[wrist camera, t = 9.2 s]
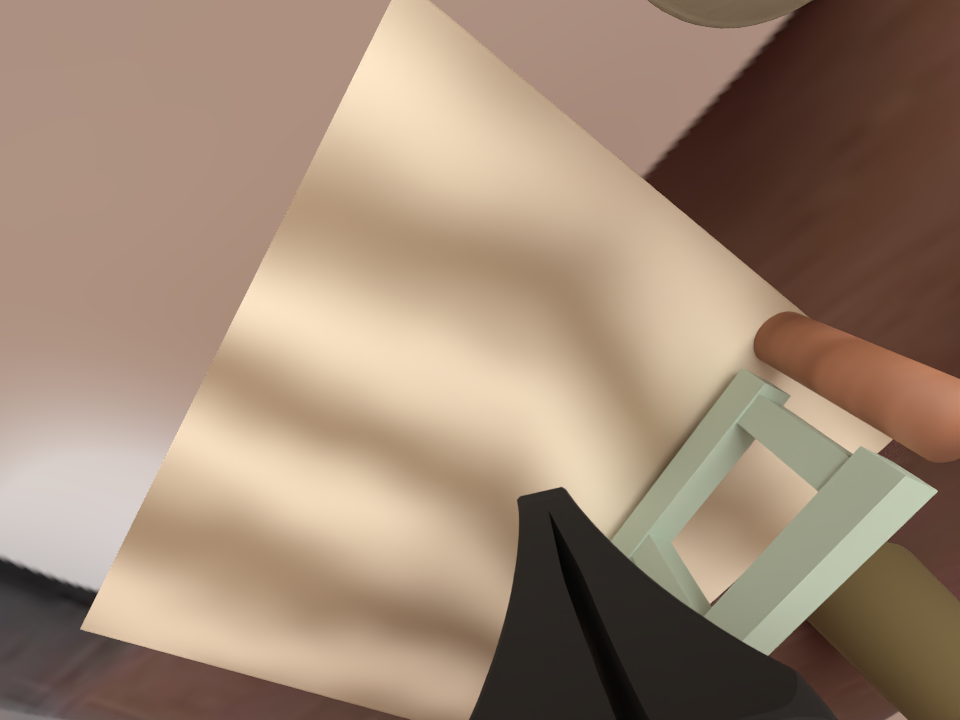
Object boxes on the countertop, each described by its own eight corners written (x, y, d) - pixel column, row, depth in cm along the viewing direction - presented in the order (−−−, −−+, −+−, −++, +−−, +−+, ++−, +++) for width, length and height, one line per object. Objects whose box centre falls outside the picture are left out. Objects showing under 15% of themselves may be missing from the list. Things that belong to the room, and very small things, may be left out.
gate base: (539, 746, 26) (579, 960, 19) (86, 620, 19) (-116, 889, 12) (913, 407, 18) (1201, 553, 12) (403, -16, 11) (359, -299, 4)
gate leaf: (558, 644, 21) (603, 814, 15) (536, 639, 21) (574, 810, 15) (766, 380, 16) (938, 490, 11) (741, 367, 16) (906, 475, 10)
